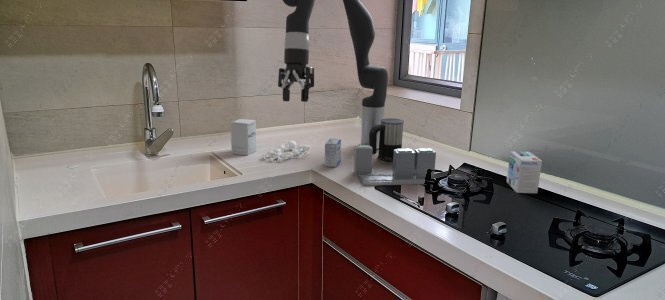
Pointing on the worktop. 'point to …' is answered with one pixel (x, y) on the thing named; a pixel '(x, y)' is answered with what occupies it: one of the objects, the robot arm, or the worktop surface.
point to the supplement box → (243, 136)
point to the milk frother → (387, 137)
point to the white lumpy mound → (279, 152)
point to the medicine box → (332, 152)
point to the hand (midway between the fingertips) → (295, 101)
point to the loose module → (363, 160)
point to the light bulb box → (524, 172)
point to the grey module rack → (405, 168)
